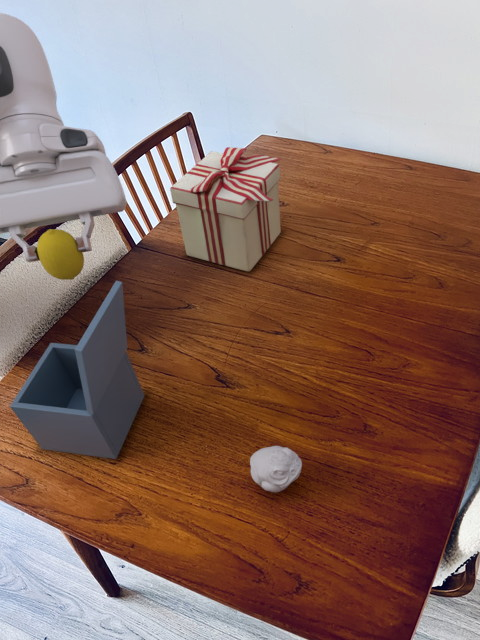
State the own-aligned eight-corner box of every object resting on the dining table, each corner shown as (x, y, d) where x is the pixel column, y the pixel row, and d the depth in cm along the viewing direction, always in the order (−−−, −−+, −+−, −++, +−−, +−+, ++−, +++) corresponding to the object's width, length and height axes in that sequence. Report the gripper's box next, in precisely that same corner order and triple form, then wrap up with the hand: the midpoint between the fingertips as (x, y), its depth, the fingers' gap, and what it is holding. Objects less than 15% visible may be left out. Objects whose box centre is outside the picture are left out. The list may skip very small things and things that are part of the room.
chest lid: (74, 349, 55) (81, 351, 55) (116, 280, 63) (122, 281, 63) (87, 413, 65) (93, 414, 65) (122, 346, 72) (127, 348, 72)
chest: (41, 449, 75) (9, 406, 67) (76, 387, 82) (50, 342, 75) (116, 459, 73) (91, 416, 65) (144, 395, 80) (125, 349, 73)
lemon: (92, 263, 75) (72, 215, 69) (90, 288, 72) (68, 239, 66) (54, 270, 75) (30, 221, 69) (49, 294, 71) (24, 245, 65)
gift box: (269, 277, 97) (261, 193, 84) (182, 261, 102) (162, 179, 89) (299, 227, 107) (296, 145, 94) (219, 214, 112) (205, 135, 99)
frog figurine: (292, 511, 66) (290, 484, 61) (244, 492, 68) (237, 465, 63) (310, 472, 70) (309, 443, 64) (263, 455, 72) (258, 427, 67)
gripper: (-60, 156, 64) (-32, 267, 65) (106, 129, 67) (131, 236, 68) (-36, 173, 71) (-10, 274, 72) (115, 148, 73) (138, 246, 74)
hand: (60, 255), depth 70 cm, fingers closed on lemon, 5 cm apart
